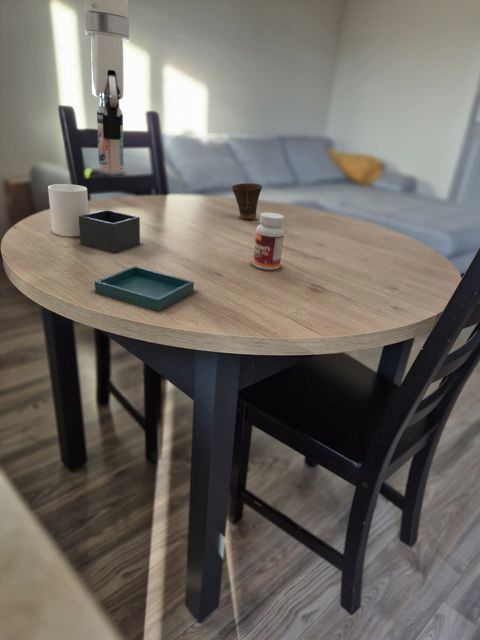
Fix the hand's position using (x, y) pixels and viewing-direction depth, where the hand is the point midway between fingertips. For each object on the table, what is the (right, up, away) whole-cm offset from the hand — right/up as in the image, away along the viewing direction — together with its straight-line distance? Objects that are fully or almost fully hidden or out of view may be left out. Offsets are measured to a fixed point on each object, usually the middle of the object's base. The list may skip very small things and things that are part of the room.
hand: (110, 136), depth 95 cm
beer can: (-1, -6, +3) cm, 7 cm away
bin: (-4, -18, +14) cm, 23 cm away
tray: (+9, -32, -9) cm, 34 cm away
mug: (-16, -14, +20) cm, 29 cm away
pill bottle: (+31, -24, +13) cm, 41 cm away
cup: (+25, -2, +52) cm, 57 cm away
